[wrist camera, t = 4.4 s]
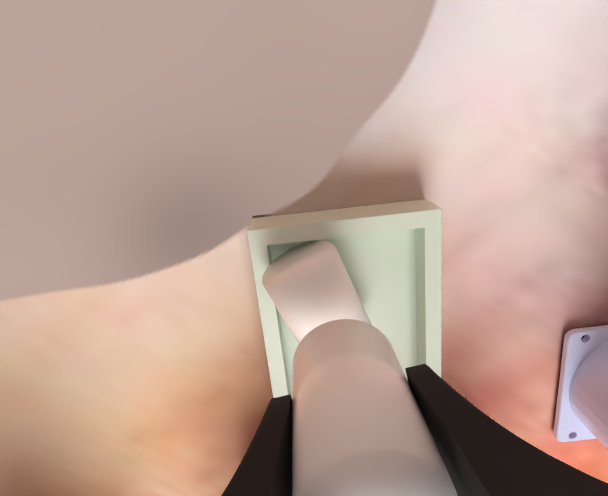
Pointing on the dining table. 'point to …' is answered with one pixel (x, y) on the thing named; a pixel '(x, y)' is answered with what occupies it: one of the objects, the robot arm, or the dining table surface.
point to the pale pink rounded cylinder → (312, 287)
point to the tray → (362, 275)
